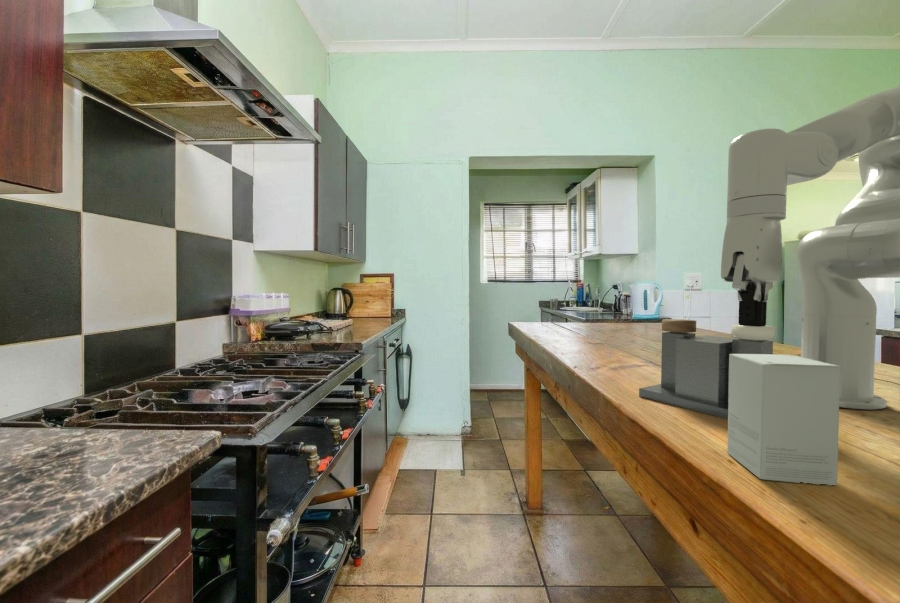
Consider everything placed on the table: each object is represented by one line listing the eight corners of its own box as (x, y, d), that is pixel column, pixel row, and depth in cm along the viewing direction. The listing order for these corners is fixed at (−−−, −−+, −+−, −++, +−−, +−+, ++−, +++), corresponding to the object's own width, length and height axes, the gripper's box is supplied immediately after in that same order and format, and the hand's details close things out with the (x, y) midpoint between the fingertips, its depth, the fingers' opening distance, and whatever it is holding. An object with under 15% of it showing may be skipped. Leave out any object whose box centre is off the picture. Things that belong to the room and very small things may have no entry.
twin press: (678, 387, 81) (679, 329, 80) (794, 412, 64) (796, 340, 64) (639, 396, 74) (640, 333, 74) (756, 426, 58) (758, 346, 57)
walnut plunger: (671, 378, 78) (672, 318, 78) (701, 384, 73) (702, 320, 73) (654, 381, 76) (655, 319, 75) (684, 388, 71) (685, 322, 70)
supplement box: (840, 487, 40) (844, 365, 40) (758, 480, 42) (761, 363, 41) (793, 457, 48) (796, 353, 47) (724, 452, 49) (727, 351, 49)
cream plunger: (740, 392, 68) (741, 323, 68) (779, 400, 63) (781, 326, 63) (723, 397, 65) (724, 325, 65) (763, 405, 60) (765, 328, 60)
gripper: (750, 219, 70) (747, 322, 71) (705, 211, 63) (702, 325, 63) (804, 212, 63) (800, 325, 64) (760, 202, 56) (757, 330, 57)
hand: (751, 325), depth 64 cm, fingers closed
